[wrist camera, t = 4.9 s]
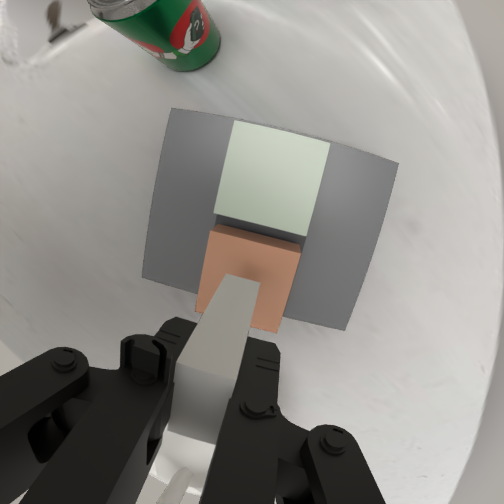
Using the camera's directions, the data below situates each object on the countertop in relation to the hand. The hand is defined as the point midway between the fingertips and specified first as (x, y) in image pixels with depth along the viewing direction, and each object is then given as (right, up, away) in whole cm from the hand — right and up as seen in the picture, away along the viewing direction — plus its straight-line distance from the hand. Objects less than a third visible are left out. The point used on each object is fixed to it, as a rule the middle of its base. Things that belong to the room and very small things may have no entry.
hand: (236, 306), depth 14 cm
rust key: (+1, +1, +6) cm, 6 cm away
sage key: (+2, +7, +4) cm, 8 cm away
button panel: (+2, +5, +10) cm, 12 cm away
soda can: (-4, +19, +7) cm, 21 cm away
